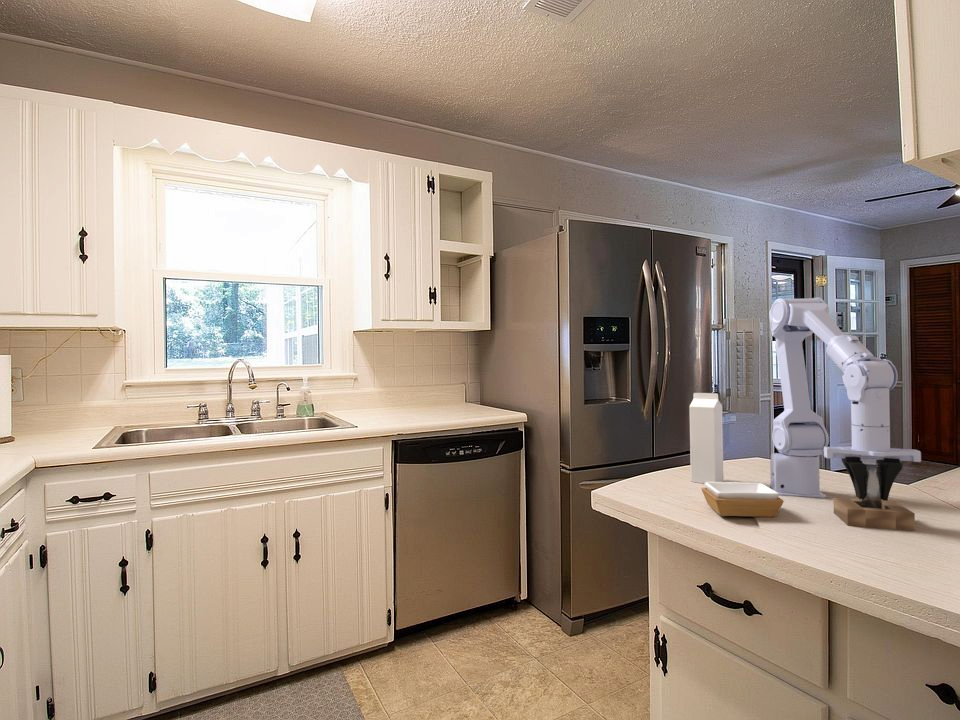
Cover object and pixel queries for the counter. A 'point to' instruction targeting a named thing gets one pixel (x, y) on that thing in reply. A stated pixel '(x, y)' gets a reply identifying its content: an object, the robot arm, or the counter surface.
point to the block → (874, 514)
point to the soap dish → (742, 499)
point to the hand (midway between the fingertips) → (871, 498)
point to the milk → (706, 438)
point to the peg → (872, 486)
